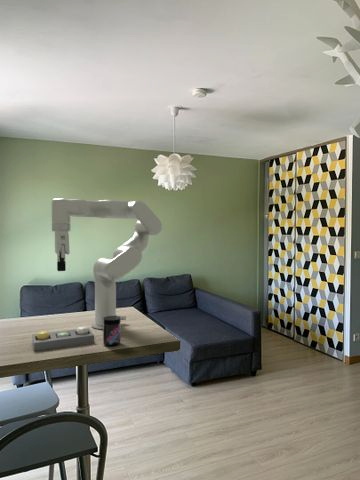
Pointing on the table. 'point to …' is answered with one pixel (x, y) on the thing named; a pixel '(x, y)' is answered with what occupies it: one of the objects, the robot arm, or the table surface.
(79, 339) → the button panel
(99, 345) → the table surface
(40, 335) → the mustard button
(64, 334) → the green button
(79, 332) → the white button
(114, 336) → the supplement container
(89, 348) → the table surface
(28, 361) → the table surface
